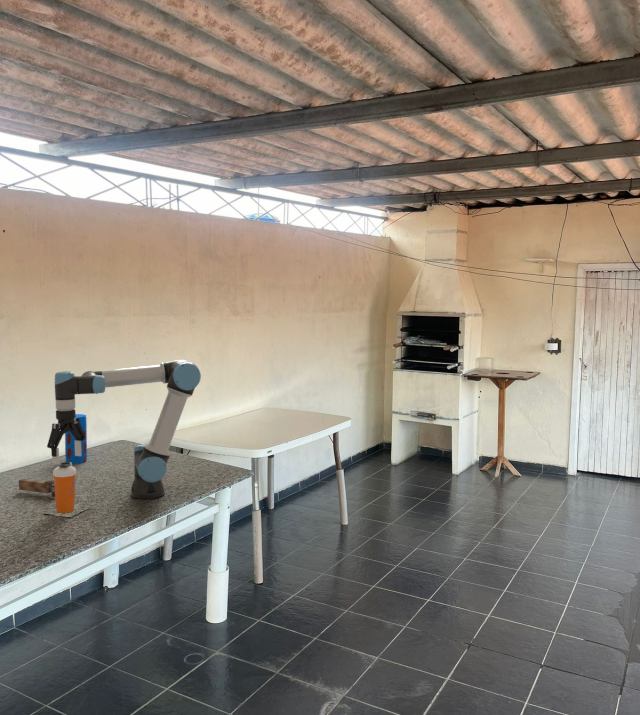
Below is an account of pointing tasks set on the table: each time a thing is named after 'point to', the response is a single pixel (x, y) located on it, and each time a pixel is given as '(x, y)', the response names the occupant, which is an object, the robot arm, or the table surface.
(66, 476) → the shaker bottle
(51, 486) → the grey curved piece
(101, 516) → the table surface
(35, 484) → the bar
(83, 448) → the thermos
